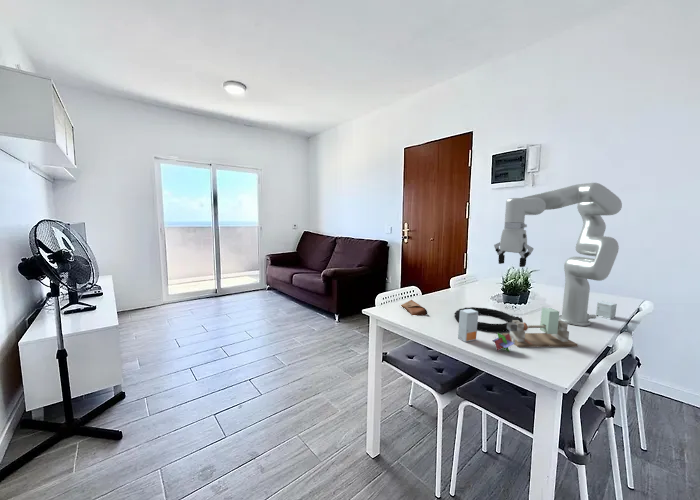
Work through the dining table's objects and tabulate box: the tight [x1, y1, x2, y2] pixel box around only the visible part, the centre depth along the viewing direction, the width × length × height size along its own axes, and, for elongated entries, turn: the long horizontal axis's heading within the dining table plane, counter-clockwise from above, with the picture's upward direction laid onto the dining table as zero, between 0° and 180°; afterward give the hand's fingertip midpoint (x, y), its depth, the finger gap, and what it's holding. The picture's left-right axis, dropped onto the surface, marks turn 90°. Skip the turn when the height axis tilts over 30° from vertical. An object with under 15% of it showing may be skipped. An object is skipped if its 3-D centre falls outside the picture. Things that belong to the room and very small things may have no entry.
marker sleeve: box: [539, 307, 560, 334], centre depth 119 cm, size 4×4×9 cm
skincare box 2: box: [595, 300, 618, 319], centre depth 151 cm, size 6×6×7 cm
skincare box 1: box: [457, 309, 479, 343], centre depth 119 cm, size 6×4×12 cm
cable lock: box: [454, 306, 524, 333], centre depth 140 cm, size 28×4×30 cm
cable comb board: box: [501, 320, 579, 348], centre depth 119 cm, size 25×11×8 cm, turn 93°
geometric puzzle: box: [492, 332, 515, 353], centre depth 110 cm, size 7×7×8 cm
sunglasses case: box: [400, 298, 428, 316], centre depth 157 cm, size 18×7×7 cm
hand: (511, 265), depth 131 cm, fingers open, 9 cm apart
